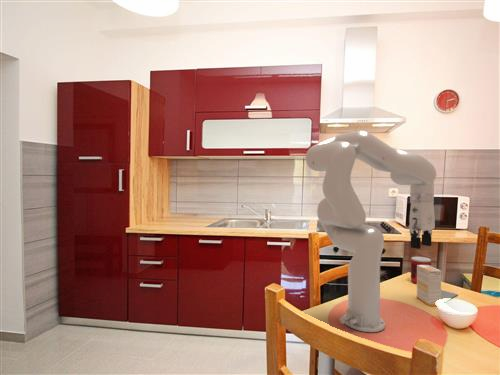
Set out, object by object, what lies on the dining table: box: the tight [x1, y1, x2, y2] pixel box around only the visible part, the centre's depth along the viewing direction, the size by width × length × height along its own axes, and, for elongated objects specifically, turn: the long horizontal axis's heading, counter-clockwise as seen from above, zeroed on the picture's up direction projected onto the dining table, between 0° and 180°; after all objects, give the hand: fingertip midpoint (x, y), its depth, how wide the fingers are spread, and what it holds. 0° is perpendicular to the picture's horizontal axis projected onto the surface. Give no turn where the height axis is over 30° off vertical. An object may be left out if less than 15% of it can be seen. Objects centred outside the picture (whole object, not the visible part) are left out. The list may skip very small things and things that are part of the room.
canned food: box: [410, 256, 432, 285], centre depth 135 cm, size 8×8×11 cm
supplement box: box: [416, 265, 442, 307], centre depth 113 cm, size 8×5×13 cm, turn 179°
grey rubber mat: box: [441, 289, 459, 299], centre depth 119 cm, size 12×8×1 cm, turn 126°
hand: (421, 246), depth 109 cm, fingers open, 7 cm apart
